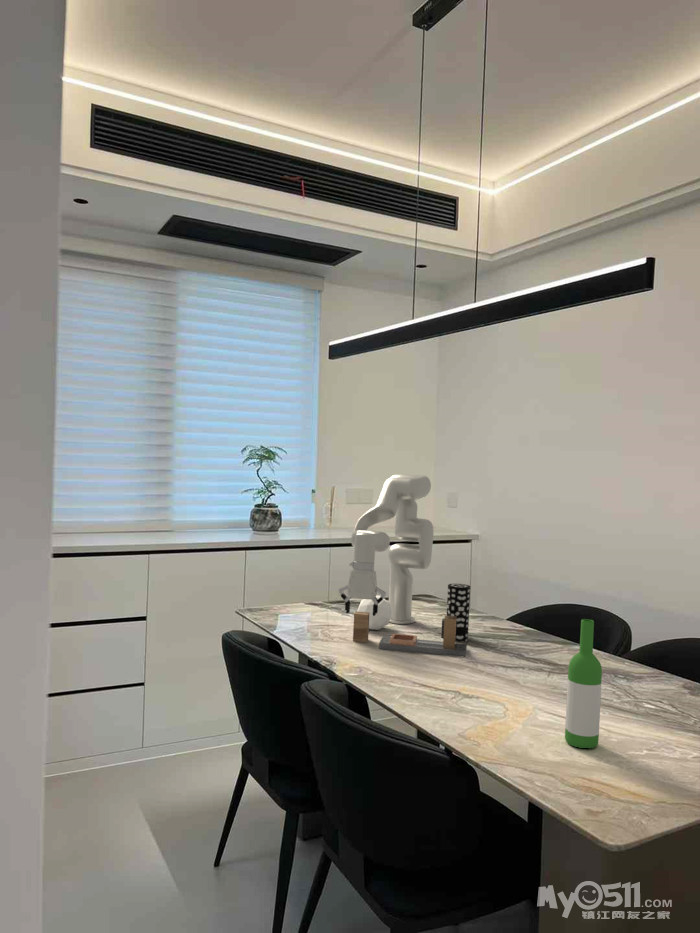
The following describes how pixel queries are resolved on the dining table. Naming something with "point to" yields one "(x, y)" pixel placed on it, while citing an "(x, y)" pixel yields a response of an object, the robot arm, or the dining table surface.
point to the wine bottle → (584, 693)
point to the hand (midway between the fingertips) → (361, 613)
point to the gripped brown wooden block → (361, 626)
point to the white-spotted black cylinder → (459, 608)
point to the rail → (428, 642)
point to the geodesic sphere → (380, 617)
